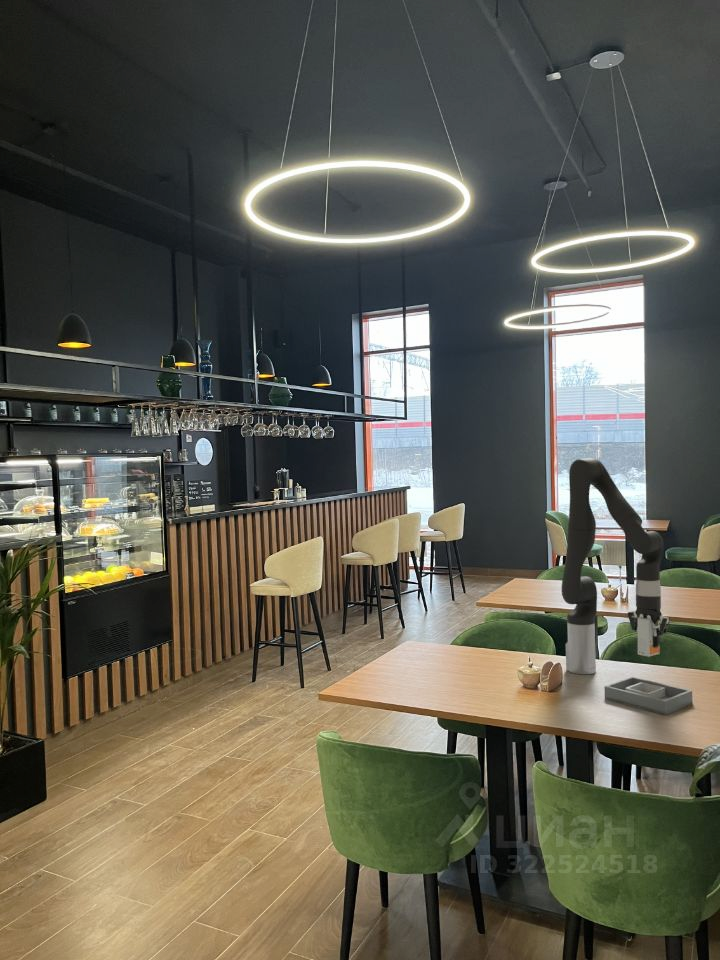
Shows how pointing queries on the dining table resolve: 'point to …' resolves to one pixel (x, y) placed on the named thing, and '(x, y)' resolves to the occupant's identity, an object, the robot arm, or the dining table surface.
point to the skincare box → (646, 638)
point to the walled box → (648, 695)
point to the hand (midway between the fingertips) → (648, 645)
